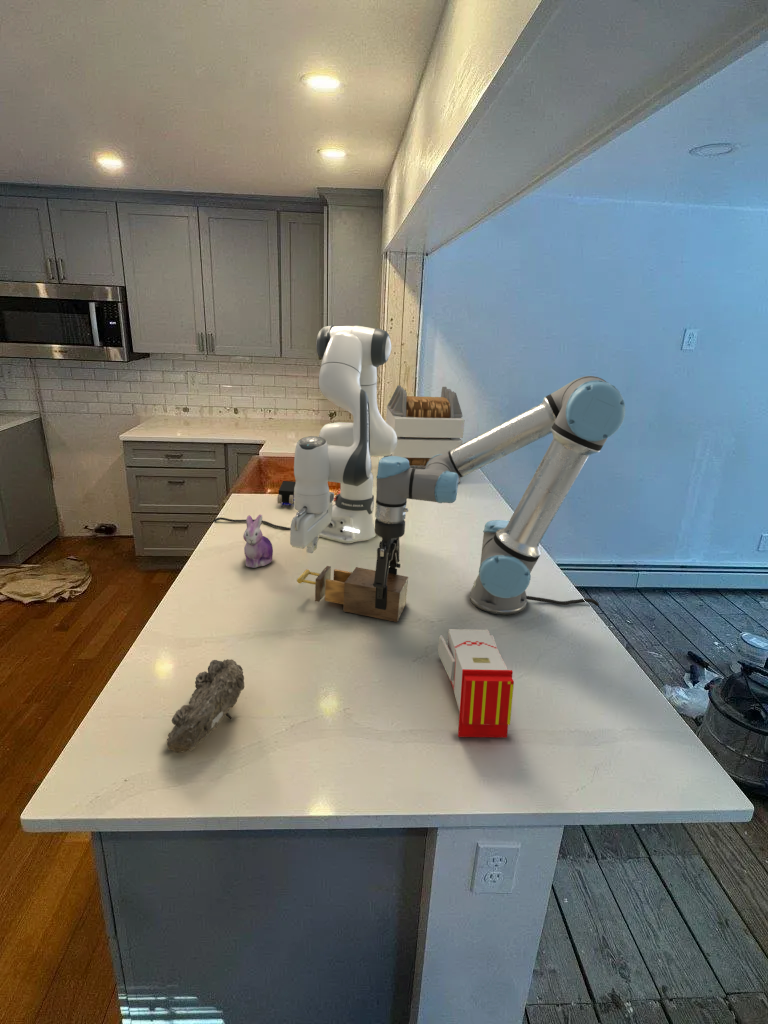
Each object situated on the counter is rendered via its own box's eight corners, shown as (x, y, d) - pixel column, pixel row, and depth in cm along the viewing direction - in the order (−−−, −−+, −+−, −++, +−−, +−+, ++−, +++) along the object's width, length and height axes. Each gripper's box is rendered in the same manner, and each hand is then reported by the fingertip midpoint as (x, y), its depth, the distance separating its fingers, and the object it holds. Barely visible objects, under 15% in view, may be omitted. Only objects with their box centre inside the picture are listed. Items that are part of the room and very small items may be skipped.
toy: (488, 613, 130) (523, 677, 101) (484, 667, 133) (517, 744, 104) (435, 612, 130) (455, 676, 101) (432, 666, 133) (451, 743, 103)
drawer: (294, 597, 150) (294, 574, 148) (306, 583, 158) (307, 561, 155) (363, 611, 146) (365, 588, 144) (372, 596, 154) (374, 574, 151)
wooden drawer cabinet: (343, 611, 147) (344, 582, 144) (354, 594, 156) (356, 566, 153) (397, 622, 144) (399, 593, 141) (405, 604, 152) (408, 576, 149)
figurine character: (294, 513, 219) (298, 496, 232) (293, 495, 215) (298, 479, 229) (276, 512, 219) (282, 496, 232) (276, 494, 215) (281, 479, 229)
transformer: (382, 463, 289) (386, 382, 275) (445, 464, 293) (451, 384, 279) (390, 482, 257) (394, 392, 243) (460, 483, 261) (468, 394, 247)
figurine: (247, 571, 167) (245, 523, 162) (239, 557, 175) (236, 512, 170) (278, 566, 171) (277, 519, 166) (269, 553, 179) (267, 508, 174)
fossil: (192, 660, 117) (244, 628, 112) (224, 691, 120) (276, 661, 115) (142, 746, 98) (202, 712, 93) (182, 779, 101) (242, 748, 96)
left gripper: (307, 516, 134) (307, 569, 139) (336, 491, 153) (335, 539, 157) (283, 512, 136) (284, 565, 140) (314, 488, 154) (314, 535, 159)
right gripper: (394, 537, 129) (388, 622, 137) (414, 507, 150) (409, 582, 157) (362, 532, 131) (359, 617, 139) (387, 503, 151) (382, 578, 159)
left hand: (311, 551), depth 149 cm, fingers closed
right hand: (385, 599), depth 148 cm, fingers closed on wooden drawer cabinet, 10 cm apart
